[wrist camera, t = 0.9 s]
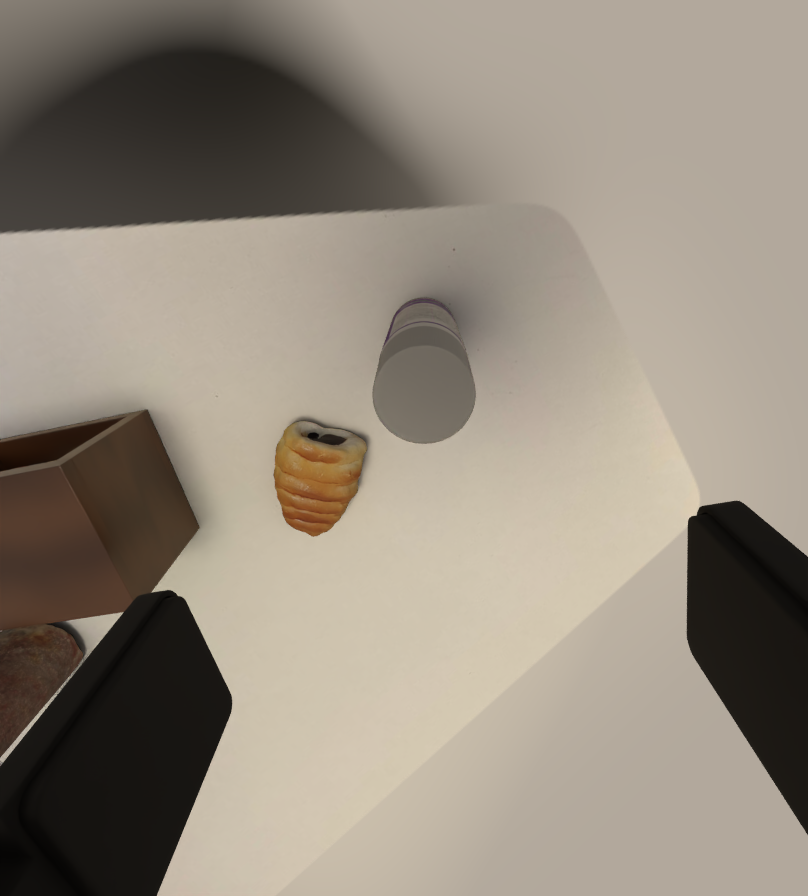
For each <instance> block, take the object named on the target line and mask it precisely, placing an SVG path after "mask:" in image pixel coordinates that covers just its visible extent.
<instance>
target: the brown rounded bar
mask: <svg viewBox="0 0 808 896" xmlns="http://www.w3.org/2000/svg"><path fill="white" fill-rule="evenodd" d="M82 657H83V653H82V651H80V650H79V647H78V646H77V644H76V642H75V640H74V638H73V636H72V635H70V634H69V633H67V632H66V631H65V630H63V629H61V628H56V627H54V626H52V625H47V624H41V625H34V626H28V627H21V628H15V629H8V630H3V631H1V632H0V757H1V756H2V755H3V754H4V753H5V751H6V750H7V749H8V748H9V747H10V746H11V745H12V743H13V742H14V741H15V740H16V739H17V737H18V736H19V735H20V734H21V732H22V731H23V730H24V729H25V728H26V727H27V726H28V724H29V723H30V722H31V721H32V720H33V719H34V717H35V716H36V715H37V714H38V713H39V711H40V710H41V709H42V708H43V707H44V705H45V704H46V703H47V702H48V701H49V700H50V698H51V697H52V696H53V695H54V694H55V693H56V691H57V690H58V689H59V688H60V686H61V685H62V684H63V683H64V682H65V680H66V679H67V678H68V677H69V676H70V674H71V673H72V672H73V671H74V669H75V668H76V667H77V666H78V664H79V663H80V662H81V660H82Z"/></svg>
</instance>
